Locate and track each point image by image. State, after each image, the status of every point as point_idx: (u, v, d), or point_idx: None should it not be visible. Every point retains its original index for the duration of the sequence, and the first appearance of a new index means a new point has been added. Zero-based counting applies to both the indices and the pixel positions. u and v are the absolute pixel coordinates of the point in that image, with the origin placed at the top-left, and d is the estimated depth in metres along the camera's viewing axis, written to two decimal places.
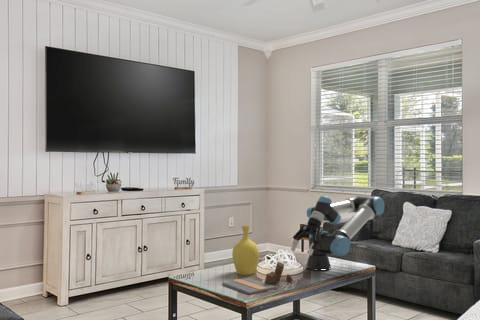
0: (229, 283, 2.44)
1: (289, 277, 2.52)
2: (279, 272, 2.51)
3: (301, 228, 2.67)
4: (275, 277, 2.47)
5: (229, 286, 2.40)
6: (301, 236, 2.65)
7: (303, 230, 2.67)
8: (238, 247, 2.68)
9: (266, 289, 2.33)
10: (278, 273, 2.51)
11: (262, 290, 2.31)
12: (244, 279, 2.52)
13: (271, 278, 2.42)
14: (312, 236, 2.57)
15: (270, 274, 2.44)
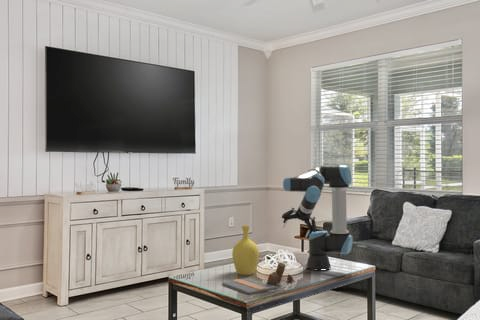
0: (229, 283, 2.44)
1: (290, 277, 2.52)
2: (280, 272, 2.50)
3: (290, 213, 2.49)
4: (277, 277, 2.47)
5: (229, 286, 2.40)
6: None
7: None
8: (238, 247, 2.68)
9: (266, 289, 2.33)
10: (279, 273, 2.50)
11: (262, 290, 2.31)
12: (244, 279, 2.52)
13: (273, 278, 2.41)
14: (307, 225, 2.50)
15: (273, 274, 2.43)
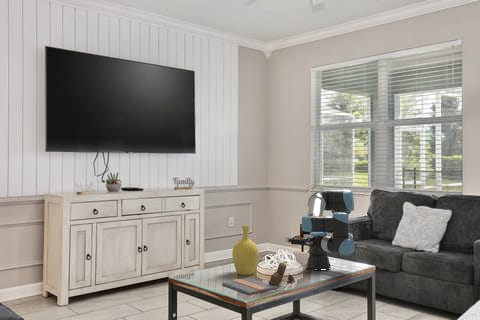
0: (229, 283, 2.44)
1: (291, 277, 2.52)
2: (281, 272, 2.50)
3: None
4: (278, 278, 2.46)
5: (229, 286, 2.40)
6: None
7: None
8: (238, 247, 2.68)
9: (266, 289, 2.33)
10: (280, 273, 2.50)
11: (262, 290, 2.31)
12: (244, 279, 2.52)
13: (276, 278, 2.41)
14: None
15: (275, 275, 2.42)
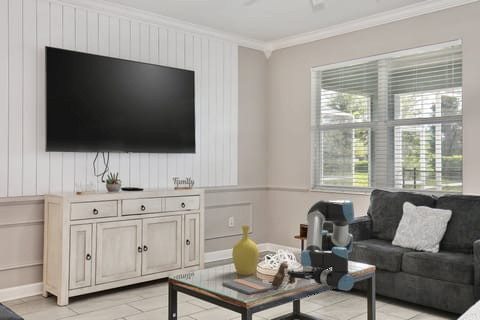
0: (229, 283, 2.44)
1: None
2: (283, 273, 2.49)
3: (304, 278, 2.24)
4: None
5: (229, 286, 2.40)
6: None
7: None
8: (238, 247, 2.68)
9: (266, 289, 2.33)
10: (282, 274, 2.49)
11: (262, 290, 2.31)
12: (244, 279, 2.52)
13: (279, 279, 2.40)
14: None
15: (278, 275, 2.41)
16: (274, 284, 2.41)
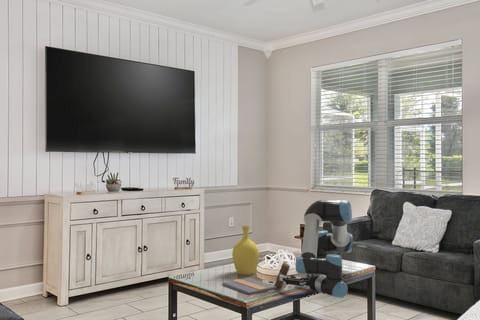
0: (229, 283, 2.44)
1: (293, 277, 2.52)
2: (285, 273, 2.49)
3: None
4: None
5: (229, 286, 2.40)
6: None
7: None
8: (238, 247, 2.68)
9: (266, 289, 2.33)
10: (284, 274, 2.49)
11: (262, 290, 2.31)
12: (244, 279, 2.52)
13: None
14: None
15: None
16: (278, 285, 2.40)
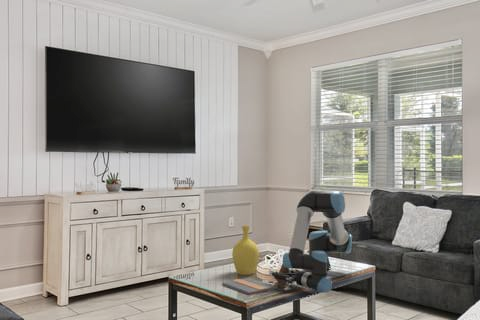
0: (229, 283, 2.44)
1: None
2: (285, 273, 2.48)
3: None
4: None
5: (229, 286, 2.40)
6: None
7: None
8: (238, 247, 2.68)
9: (266, 289, 2.33)
10: None
11: (262, 290, 2.31)
12: (244, 279, 2.52)
13: None
14: None
15: None
16: (282, 285, 2.38)
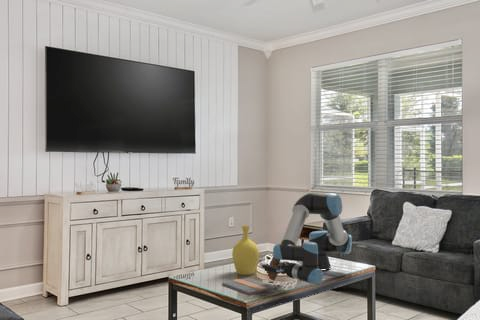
0: (229, 283, 2.44)
1: None
2: (276, 265, 2.43)
3: (276, 272, 2.31)
4: None
5: (229, 286, 2.40)
6: None
7: None
8: (238, 247, 2.68)
9: (266, 289, 2.33)
10: None
11: (262, 290, 2.31)
12: (244, 279, 2.52)
13: None
14: None
15: None
16: (272, 277, 2.33)
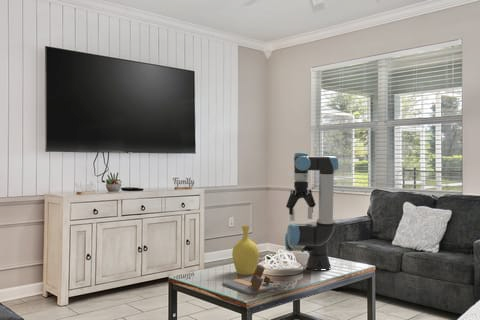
0: (229, 283, 2.44)
1: (268, 279, 2.41)
2: (260, 275, 2.37)
3: (294, 194, 2.44)
4: None
5: (229, 286, 2.40)
6: None
7: None
8: (238, 247, 2.68)
9: (266, 289, 2.33)
10: (259, 276, 2.37)
11: (262, 290, 2.31)
12: (244, 279, 2.52)
13: (261, 282, 2.27)
14: (308, 200, 2.51)
15: (259, 278, 2.28)
16: (255, 288, 2.27)
